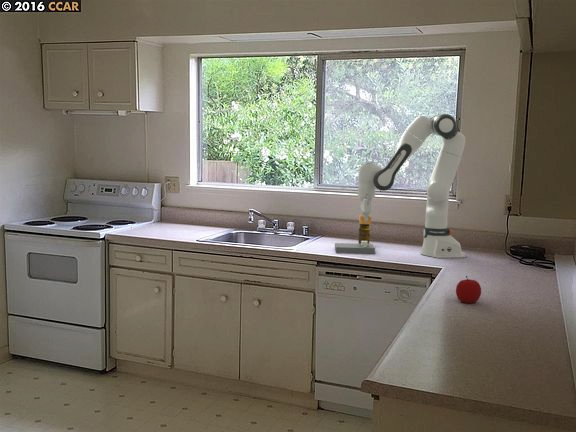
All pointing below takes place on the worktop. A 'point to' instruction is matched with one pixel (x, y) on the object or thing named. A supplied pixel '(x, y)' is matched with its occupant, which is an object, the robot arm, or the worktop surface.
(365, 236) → the condiment
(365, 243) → the button
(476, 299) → the apple
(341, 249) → the grey flat slab
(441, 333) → the worktop surface
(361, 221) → the lockout cap
